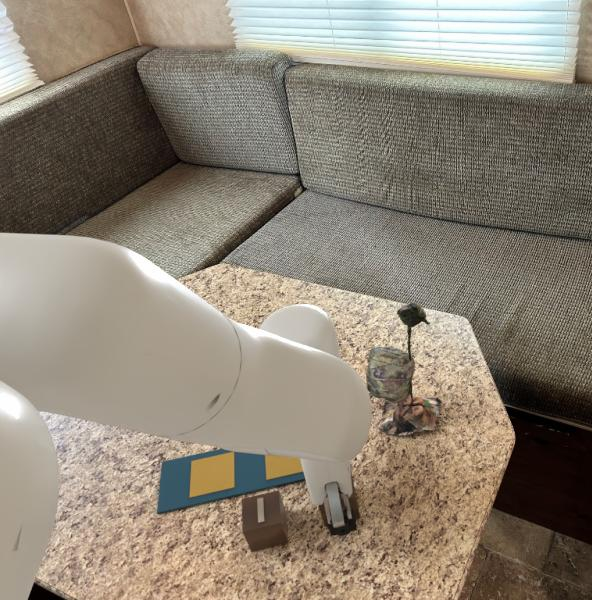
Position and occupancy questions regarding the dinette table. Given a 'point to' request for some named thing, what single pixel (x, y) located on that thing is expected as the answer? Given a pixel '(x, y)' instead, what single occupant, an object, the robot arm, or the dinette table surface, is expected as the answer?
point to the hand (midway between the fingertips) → (338, 495)
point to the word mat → (222, 477)
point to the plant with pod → (401, 383)
